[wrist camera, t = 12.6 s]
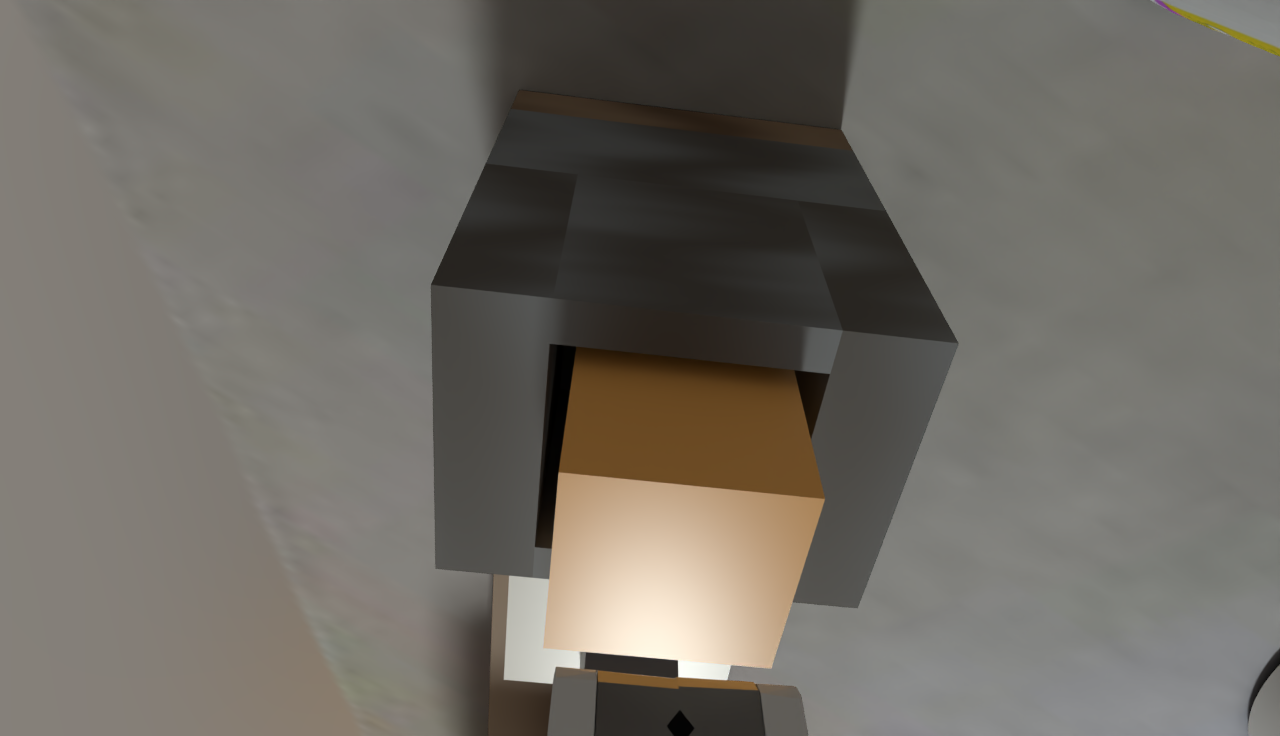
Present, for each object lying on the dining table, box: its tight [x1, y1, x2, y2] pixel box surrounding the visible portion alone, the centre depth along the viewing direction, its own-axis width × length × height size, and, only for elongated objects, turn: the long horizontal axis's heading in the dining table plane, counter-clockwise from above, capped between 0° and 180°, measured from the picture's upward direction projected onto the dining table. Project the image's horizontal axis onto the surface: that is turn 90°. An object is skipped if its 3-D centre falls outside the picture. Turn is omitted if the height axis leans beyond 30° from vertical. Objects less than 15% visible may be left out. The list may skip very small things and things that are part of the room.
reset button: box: [543, 347, 825, 669], centre depth 15 cm, size 4×4×5 cm
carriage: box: [504, 576, 731, 684], centre depth 22 cm, size 6×6×10 cm
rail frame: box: [431, 90, 959, 736], centre depth 27 cm, size 8×36×10 cm, turn 173°
